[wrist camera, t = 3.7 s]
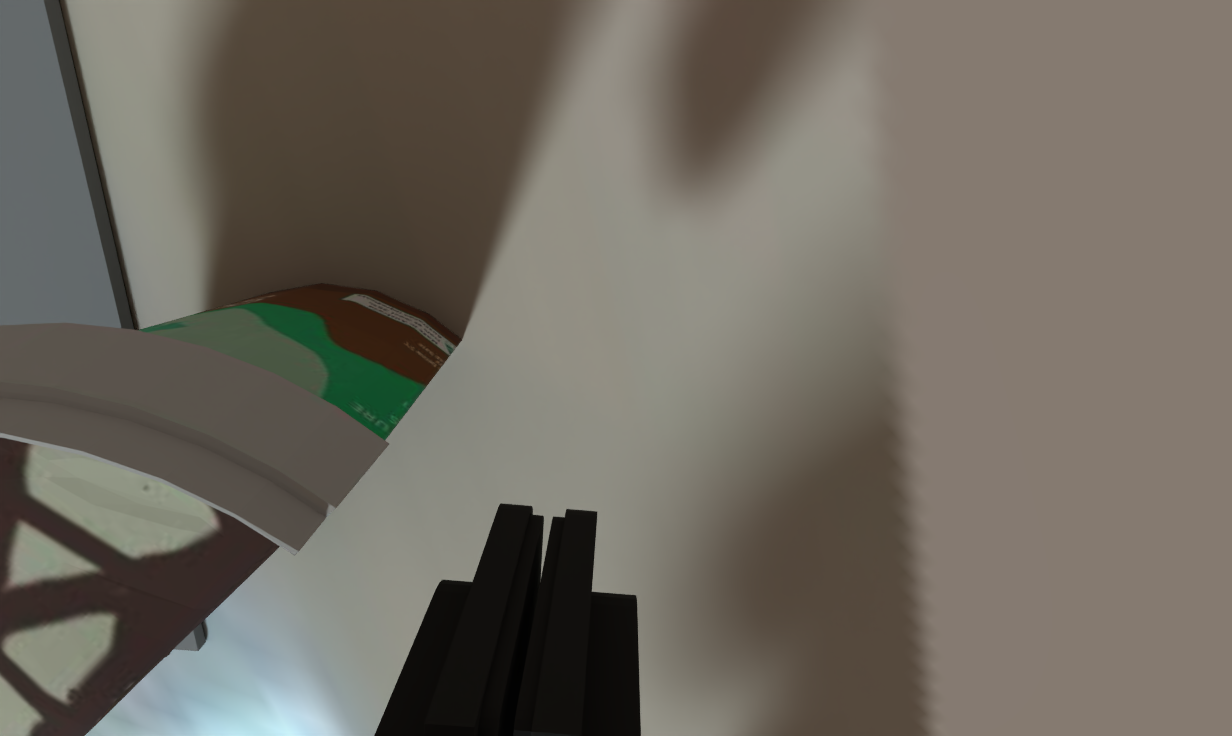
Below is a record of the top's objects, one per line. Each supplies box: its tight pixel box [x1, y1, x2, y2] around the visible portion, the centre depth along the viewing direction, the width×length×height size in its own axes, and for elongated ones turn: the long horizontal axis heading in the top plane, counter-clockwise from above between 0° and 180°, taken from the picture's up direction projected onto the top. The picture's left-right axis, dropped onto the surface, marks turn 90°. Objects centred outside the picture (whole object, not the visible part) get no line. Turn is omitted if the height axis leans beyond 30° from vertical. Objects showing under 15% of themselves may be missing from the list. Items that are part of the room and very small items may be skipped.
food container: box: [0, 283, 462, 736], centre depth 12 cm, size 12×6×10 cm, turn 133°
